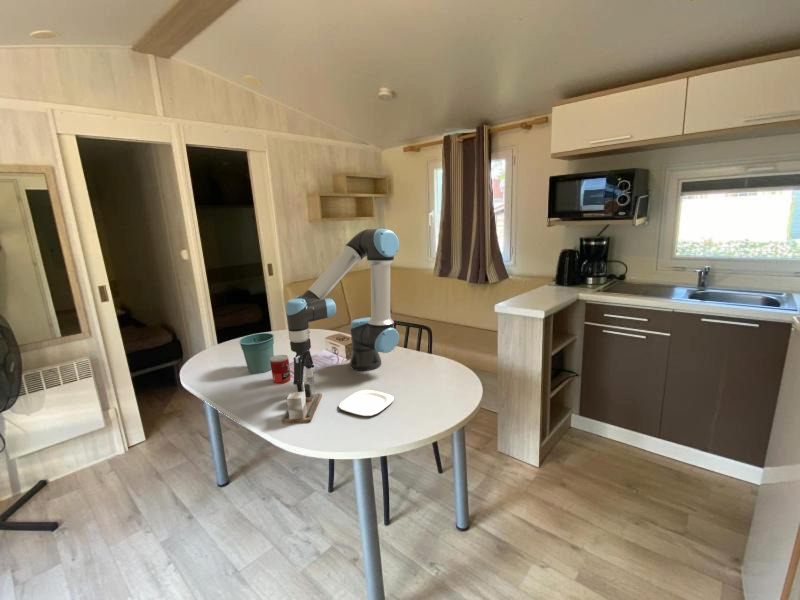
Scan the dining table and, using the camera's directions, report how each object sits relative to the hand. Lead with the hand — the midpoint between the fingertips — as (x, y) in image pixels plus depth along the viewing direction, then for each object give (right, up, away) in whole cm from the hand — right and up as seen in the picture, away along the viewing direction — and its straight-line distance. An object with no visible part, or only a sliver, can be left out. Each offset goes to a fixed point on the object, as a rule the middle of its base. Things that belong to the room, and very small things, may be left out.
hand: (306, 391), depth 148 cm
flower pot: (-31, +2, +38) cm, 49 cm away
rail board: (0, -6, -5) cm, 7 cm away
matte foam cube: (0, -3, +1) cm, 3 cm away
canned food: (-17, -1, +23) cm, 28 cm away
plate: (+24, -5, -4) cm, 25 cm away
